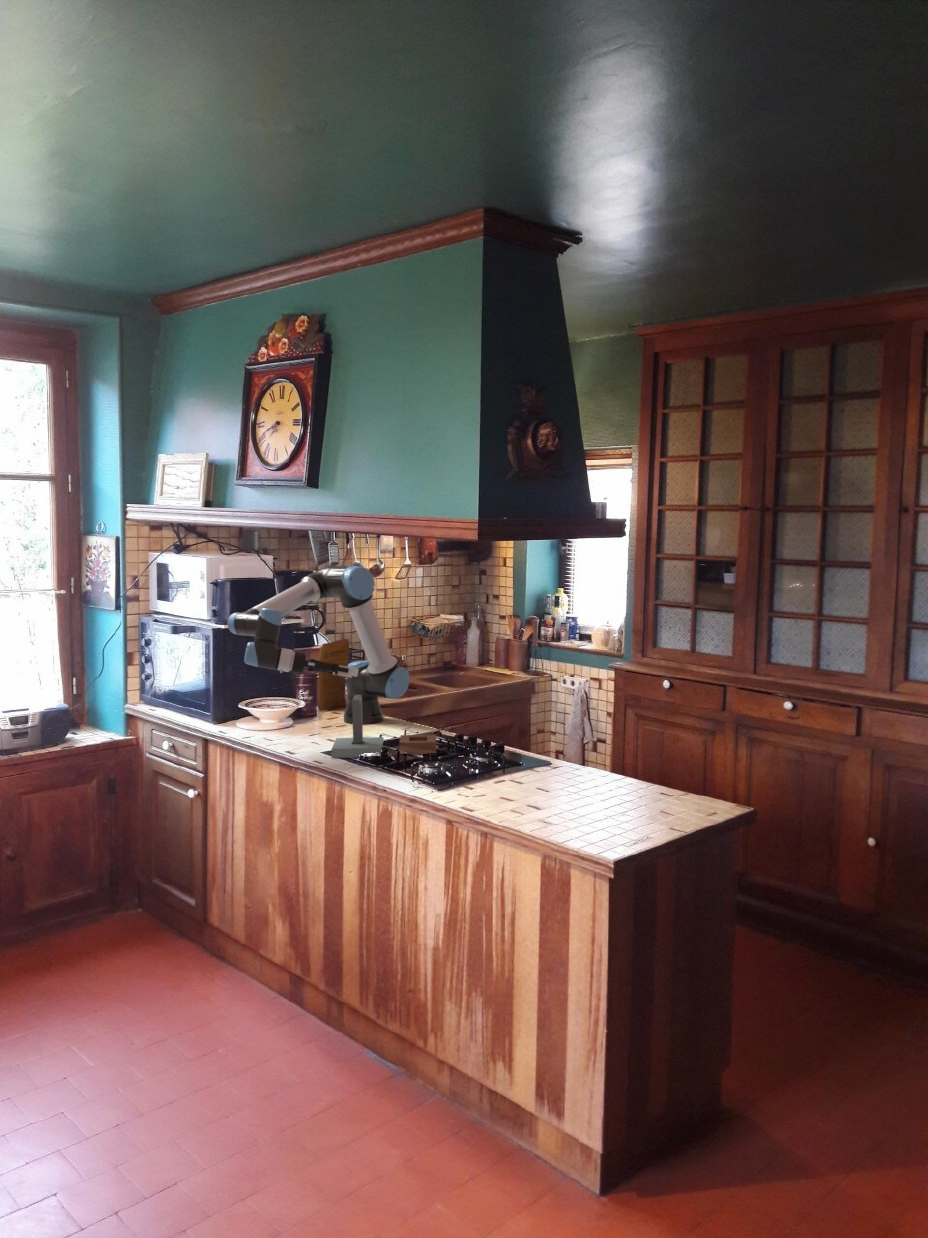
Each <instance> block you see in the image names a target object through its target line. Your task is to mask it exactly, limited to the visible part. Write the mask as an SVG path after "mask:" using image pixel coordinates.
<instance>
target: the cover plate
mask: <svg viewBox="0 0 928 1238" xmlns="http://www.w3.org/2000/svg"><path fill="white" fill-rule="evenodd" d="M384 741H385V740H384V736H382V737H381V736H379V737H378V736H375V737H374V736H373V737H369V736H367V737H366V736H365V737H363V744H353V737H337V738H335V741H334V743H333V744H332V747H331V758H332V759H337V758H338V759H339V758H340V759H342V758H345V759H346V758H347V759H348V758H350V759H351V758H359V757H358V756H359V755H361V754H364V753H371V752H381V750H382V747H383V748H384V746H383V742H384Z"/></svg>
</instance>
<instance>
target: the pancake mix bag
mask: <svg viewBox="0 0 928 1238" xmlns="http://www.w3.org/2000/svg"><path fill="white" fill-rule="evenodd" d="M349 642H350V641H349V639H348V638H344V639H338V640H335V641H334V640H333V641H332V642H327V643H323V644H321V646H320V648H319V654H318V661H322V662H325V663H331V664H337V665H342V666H348V664H349V651H350V643H349ZM318 674H319V681H318V685H317V709H318V708H319V710H328V711H331V710H330V709H332V710H336V709H340V708H346V706H347V700H346V688H347V686H346V685H347V677H344V676H339V675H334V674H333V673H332V674H327V673H323V672H317V675H318Z"/></svg>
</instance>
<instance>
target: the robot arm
mask: <svg viewBox="0 0 928 1238" xmlns="http://www.w3.org/2000/svg"><path fill="white" fill-rule="evenodd" d="M375 586H376V584H375V579H374V576H373V574H372V573H371V572H370V570H369V569H367V568H366V567H363V566H359V565H329V566H325V567H322V568H321V569H320V568H319V569H317V570H315V571H313V572H311V573H310V574H307V575H306V576H304V577H303V578H301V580H300V582H299V583H297V584H295V585H293V586H291V587H289V588H287V589H284V590H283V591H282V592H280V593H277V594H276V595H274V596H273V597H270V598H268V599H266V600H264V601H263V602H261V603H259V604H256V605H255V606H253V607H251V608H249V609H247V610H246V611H242V612H241V611H240V612H238V611H237V612H234V613H232V614H230V615H229V616H228V620H227V623H226V624H227V627H228V630H229V631H230V633H232V634H234V635H238V636H249V637H254V639H253V641H249V642H247V644H246V648H245V653H244V659H243V662H244V663H245V664H246V665H249V666H253V667H256V668H261V669H268V670H273V671H279V673H280V674H283V672H286V673H289V672H290V673H291V674H294V675H302V674H303V672H304V670H308V672H315V673H318V672H323V673H327V674H332V673H333V674H334V675H339V676H344V677H346V685H347V686H346V688H347V701H346V707H345V710H344V713H343V722H345V723H347V724H352V725H353V713H352V699H353V697H354V695H362V721H363V725H365V724H366V725H367V724H375V723H380V722H382V721H383V720H384V713H383V710H382V707H381V705H380V701H379V697H383V698H384V697H385V698H388V699H398V698H401V697H402V696H403V695H404V694H405V693H407V690H408V688H409V685H410V673H409V671H408V669H406V668H405V667H402V666H400V665H399V662H398V660H397V658H396V657H395V656H393V655H391V653H390V649H389V647H388V644H387V642H386V639H385V636H384V634H383V631H382V628H381V626H380V622H379V620H378V618H377V615H376V612H375V610H374V607H373V604H372V599H373V597H374V595H373V594H374V591H375ZM325 598H326V599H327V598H337V599H339V601H340V604H341V605H342V606H341V607H342V608H343V609H345V610H348V612H349V614H350V617H351V620H352V623H353V625H354V628H355V631H356V633H357V636H358V639H359V641H360V643H361V647H362V648H363V651H364V653H365V656H366V659H367V660H361V661H360V660H359V661H353V662H350V663H348V666H342V665H337V664H331V663H325V662H322V661H319V660H317V659H314V658H310V659H307V660H306V658H307V654H306V652H304V651H301V650H300V651H299V650H296V651H294V650H293V649H290V648H289V649H288V648H285V647H284V648H283V647H278V640H279V636H280V632H281V626H282V622H283V621H282V619H283V617H284V616H286V615H288V614H289V613H291V612H293V611H295V610H297V609H298V608H300V607H302V606H304V605H306V604H308V603H309V602H317V601H319V600H321V599H325Z"/></svg>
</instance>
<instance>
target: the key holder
mask: <svg viewBox="0 0 928 1238" xmlns="http://www.w3.org/2000/svg"><path fill="white" fill-rule="evenodd" d="M400 750H403V751H405V752H406V753H408V754H427V753H436V754H437V734H400V738H399V751H400Z"/></svg>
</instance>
